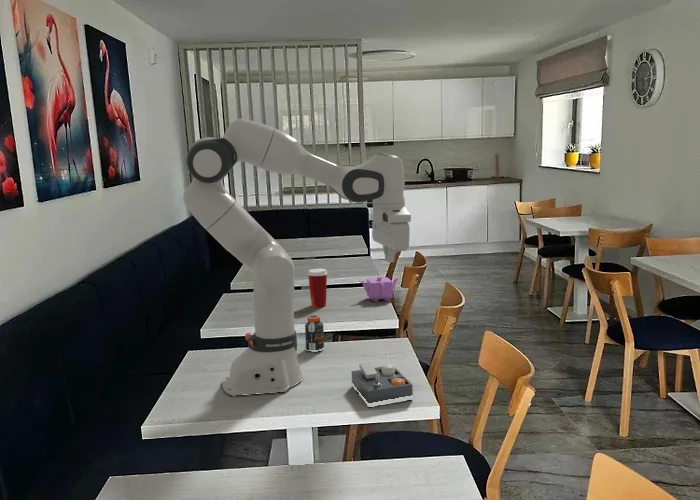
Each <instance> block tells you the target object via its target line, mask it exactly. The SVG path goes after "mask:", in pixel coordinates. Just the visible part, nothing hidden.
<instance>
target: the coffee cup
mask: <svg viewBox="0 0 700 500" xmlns="http://www.w3.org/2000/svg"><path fill="white" fill-rule="evenodd" d="M327 275H328V271H327V269H326V268H312V269H309V270H308V272H307V276H308V285H309V286H308V287H309V294H310V303H311V307H312V308H316V309H317V308H318V309H321V308H325V307H327V282H328V281H327V280H328V279H327V277H328V276H327Z"/></svg>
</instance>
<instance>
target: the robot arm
mask: <svg viewBox="0 0 700 500" xmlns="http://www.w3.org/2000/svg"><path fill="white" fill-rule="evenodd" d="M185 161H186V163H185V164H186V167H187V170H188V172H189V173H190V175H191V176H192V178H193V180H192V181H191V183H189V184H188V185H187V187H186V189H185V191H184V193H183V196H182V198H183V203H184V204H185V206H186V207H187V209H188V211H189V212H190V214H191V215H192V216H193V217H194V218H195V220H196V221H197V222H198V223H199V224H200V226H202V227H203V228H204V229H205V230H206V231H207V232H208V233H209V234H210V235H211V236H212V237H213V238H214V239H215V240H216V241H217V242H218V244H220V245H221V246H222V247H223V249H225V250H226V251H227V252H229V253H230V254H231V255H232V256H233V257H235V258H236V259H237V260H238V261H239V262H240V263H241V264H243V266H245V267H246V268H247V269H248V270H249V271H250V272H251V274H252V280H253V281H252V285H253V287H252V288H253V321H254V333H251V332H246V333H245V335H244V337H245V340H246V341H247V342H248V345H247V346H248V347H247V348H246V349H245V350H243V352H241V353H240V354H239V355H238V356H236V357H235V358H234V359H233V360H232V362H231V365H230V369H229V374H226V376H224V378H222V379H223V380H222V384H221V386H222V385H223V386H222V390H223V389H224V390H223V392H224V391H225V392H226V393H228V394H230V395H243V394H256V393H271V392H284V391H287V390H288V389H289V388H290V387H291V386H292V385H294V384H296V383H297V382H299V381H300V380H301V378H302V376H303V374H302V371H301V369H300V364H299V360H298V355H297V354H298V353H297V350H298V336H297V331H296V329H295V311H294V310H295V309H294V298H295V297H294V296H295V264H294V261H293V259H292V258H291V256H290V254H289V253H288V252H287V251H286V250H285V249H284V248H283V247H282V246H281V245H280V243H278V242H277V240H275V238H274V237H272V235H271V234H270V233H269V232H268V231H266V229H264V228H263V226H262V225H260V224H259V223H258V222H257V220H255V218H254V217H253V216H251V214H250V213H249V212H248V211H247V210H246V208H244V207H243V206H242V205H241V204H240V203H239V202H238V201H237V200H236V199H235V198H234V197H233V196H232V195H231V193H229V192H228V191H227V190H226V188H225V187H224V184H223V179H224V178H226V176H227V175H228V174H229V172H230V171H231V170H232V169H233V167H234V166H235V165H236V163H240V162H241V163H246V164H250V165H253V166H255V167H256V168H257V167H258V168H259V169H262V170H264V171H268V172H270V173H276V174H279V175H285V176H286V175H297V176H298V175H300V176H303V177H307V178H309V179H311V180H314V181H317V182H319V183H322V184H324V185H326V186H328V187H330V188H331V189H332V190H333V191H334V192H335V193H336V194H337V195H338V196H339V197H340V198H341V199H343V200H346V201H349V202H352V203H356V204H363V203H365V202H369V201H372V215H373V216H372V226H371V227H372V230H371V231H372V232H371V233H372V235H371V237H372V240H373V241H374V242H376V243H378V244H379V245H382V250H383V254H384V260H385V261H386V262H388V263H391V264H392V263H394V262H395V256H396V253H397V252H406V251H408V249H409V246H410V235H411V234H410V232H411V231H410V223H411V221H412V215H411V213H410V212H409V211H408V210H407V208H406V206H405V205H406V201H405V200H406V199H405V195H404V191H405V184H406V183H405V170H404V169H405V168H404V164H403V160H402V159H401V158H400V157H399V156H398V155H397V156H396V155H393V154H389V153H376V154H374V155H373V157H371V158H369V159H368V160H367V161H365V162H363V163H361V164H359V165H351V164H350V165H346V164H345V165H340V164H335V163H333V162H330V161H328V160H325V159H324V158H321V157H318V156H316V155H314V154H312V153H311V152H309V151H308V150H306V149H305V148H304V147H303V145H302V144H301V143H300V142H299V140H297V139H296V138H295V137H292V136H291V135H290V134H287V133H286V132H284V131H282V130H280V129H278V128H275V127H273V126H270V125H268V124H266V123H262V122H258V121H254V120H251V119H247V118H237V119H235V120H233V121H232V122H231V123H230V124H229V125H228V127H227V128H226V131H225V133H224V135H222V137H218V136H210V135H209V136H204V137H201V138H199V139H197V140H196V141H194V142H193V144H191V146H190V147H189V150H188V151H187V154H186V159H185ZM291 388H292V387H291ZM291 388H290V389H291ZM290 389H289V390H290ZM289 390H288V391H289ZM288 391H287V392H288ZM225 392H224V393H225ZM226 393H225V394H226ZM228 394H227V395H228ZM230 395H229V396H230Z"/></svg>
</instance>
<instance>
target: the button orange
mask: <svg viewBox="0 0 700 500" xmlns="http://www.w3.org/2000/svg"><path fill="white" fill-rule="evenodd" d="M391 384H392V385H393V386H400V385H405V380H404V379H402V378H394V379H392V380H391Z"/></svg>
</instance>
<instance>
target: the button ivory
mask: <svg viewBox="0 0 700 500" xmlns="http://www.w3.org/2000/svg"><path fill="white" fill-rule="evenodd" d="M381 367H382V375H383V376H390V375H395V368H396V366H395V365H394V364H392V363H385V364H382V365H381Z"/></svg>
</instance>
